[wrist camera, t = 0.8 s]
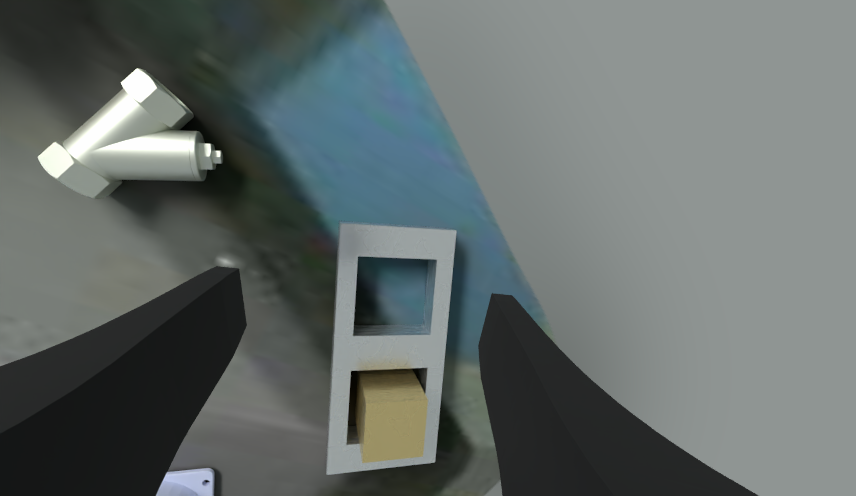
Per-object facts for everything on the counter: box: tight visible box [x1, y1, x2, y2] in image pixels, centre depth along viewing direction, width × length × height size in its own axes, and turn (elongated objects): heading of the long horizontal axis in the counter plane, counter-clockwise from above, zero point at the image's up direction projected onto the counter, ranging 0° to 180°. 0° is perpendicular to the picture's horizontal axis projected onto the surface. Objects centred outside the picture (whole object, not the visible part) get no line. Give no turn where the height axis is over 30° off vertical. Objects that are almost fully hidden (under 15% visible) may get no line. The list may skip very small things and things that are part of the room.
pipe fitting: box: [38, 68, 223, 199], centre depth 25 cm, size 8×4×7 cm
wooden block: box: [355, 368, 428, 463], centre depth 30 cm, size 4×4×6 cm
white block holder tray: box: [326, 221, 456, 475], centre depth 31 cm, size 20×9×2 cm, turn 175°
